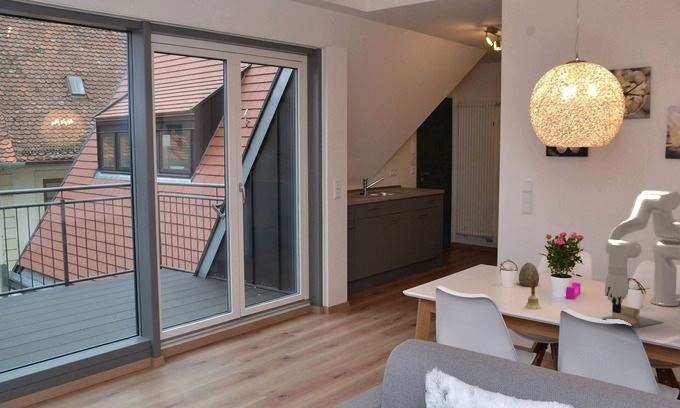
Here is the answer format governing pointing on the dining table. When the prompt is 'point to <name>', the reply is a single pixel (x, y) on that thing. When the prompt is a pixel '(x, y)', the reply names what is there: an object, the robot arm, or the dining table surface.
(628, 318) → the oak block
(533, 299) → the hand bell
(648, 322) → the mat
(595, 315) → the dining table surface
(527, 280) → the decorative egg
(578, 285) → the toy block
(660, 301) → the robot arm
